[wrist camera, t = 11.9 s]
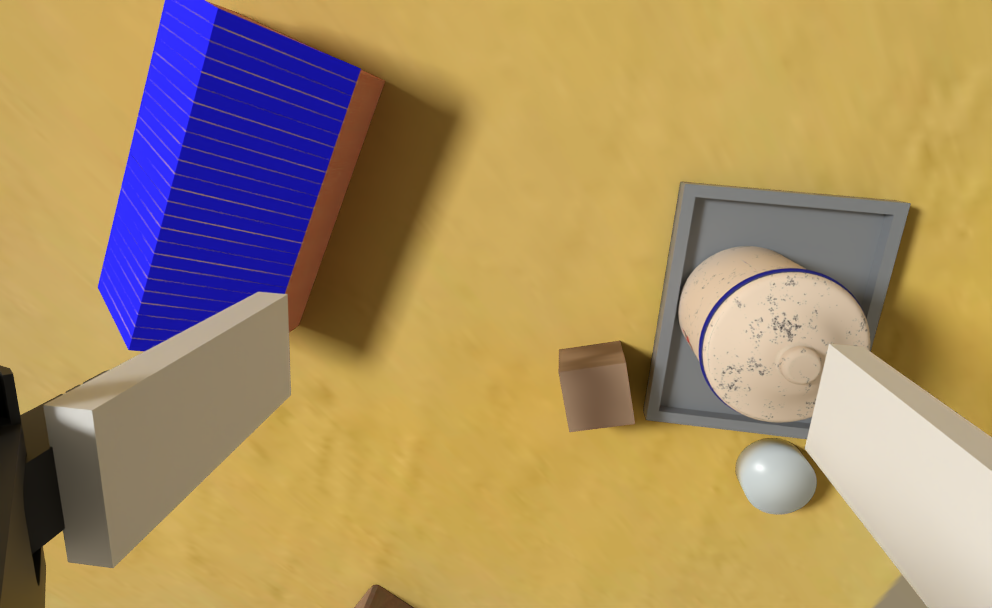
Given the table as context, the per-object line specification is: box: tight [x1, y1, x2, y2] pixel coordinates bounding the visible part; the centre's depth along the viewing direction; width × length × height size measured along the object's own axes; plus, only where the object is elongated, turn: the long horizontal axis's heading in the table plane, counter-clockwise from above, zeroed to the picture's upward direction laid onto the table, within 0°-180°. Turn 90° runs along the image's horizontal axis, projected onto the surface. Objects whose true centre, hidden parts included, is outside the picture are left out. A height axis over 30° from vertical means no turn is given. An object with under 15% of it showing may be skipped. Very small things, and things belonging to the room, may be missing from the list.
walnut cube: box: [559, 341, 635, 432], centre depth 43 cm, size 4×4×4 cm
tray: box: [643, 182, 911, 439], centre depth 42 cm, size 14×17×2 cm
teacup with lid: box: [678, 246, 870, 422], centre depth 36 cm, size 12×9×12 cm
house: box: [98, 0, 385, 351], centre depth 38 cm, size 12×20×12 cm, turn 156°
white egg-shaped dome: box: [736, 438, 817, 514], centre depth 45 cm, size 5×5×2 cm
